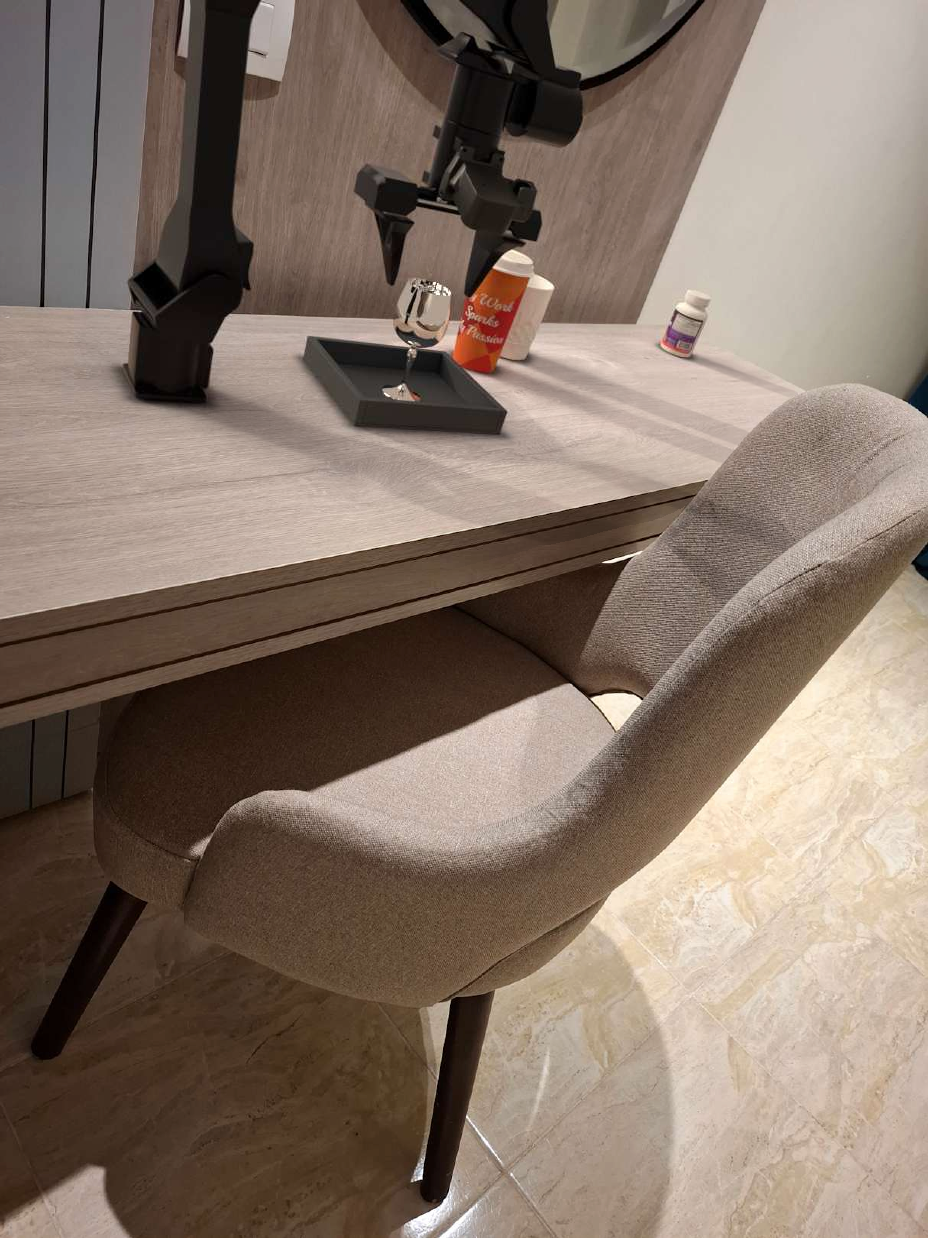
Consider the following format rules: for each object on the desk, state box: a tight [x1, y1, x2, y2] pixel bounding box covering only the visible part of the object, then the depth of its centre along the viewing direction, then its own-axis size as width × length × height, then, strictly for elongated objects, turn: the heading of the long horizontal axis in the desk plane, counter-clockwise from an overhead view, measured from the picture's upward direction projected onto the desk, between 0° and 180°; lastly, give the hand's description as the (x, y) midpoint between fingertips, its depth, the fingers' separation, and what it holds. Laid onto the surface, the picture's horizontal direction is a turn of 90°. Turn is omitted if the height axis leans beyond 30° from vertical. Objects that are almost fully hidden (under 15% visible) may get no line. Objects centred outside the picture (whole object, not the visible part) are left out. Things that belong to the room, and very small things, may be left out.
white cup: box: [499, 274, 555, 361], centre depth 121 cm, size 8×8×10 cm
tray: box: [302, 335, 508, 435], centre depth 99 cm, size 18×16×3 cm
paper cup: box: [452, 249, 536, 374], centre depth 112 cm, size 8×8×14 cm
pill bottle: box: [660, 289, 712, 358], centre depth 148 cm, size 5×5×10 cm
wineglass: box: [382, 277, 452, 402], centre depth 96 cm, size 6×6×12 cm
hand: (429, 290), depth 93 cm, fingers open, 9 cm apart
